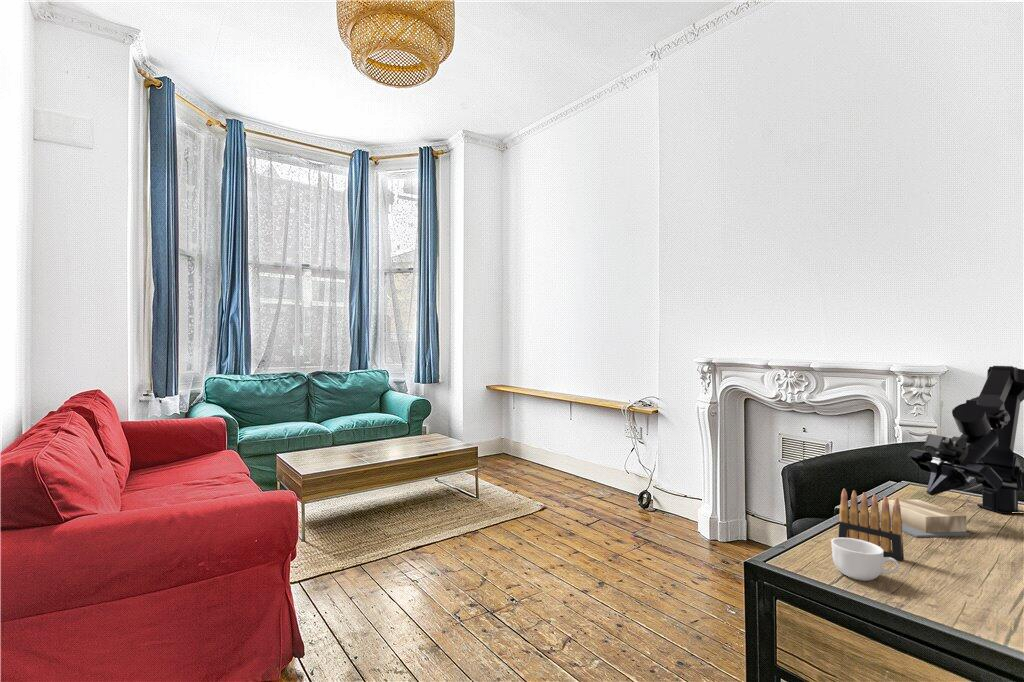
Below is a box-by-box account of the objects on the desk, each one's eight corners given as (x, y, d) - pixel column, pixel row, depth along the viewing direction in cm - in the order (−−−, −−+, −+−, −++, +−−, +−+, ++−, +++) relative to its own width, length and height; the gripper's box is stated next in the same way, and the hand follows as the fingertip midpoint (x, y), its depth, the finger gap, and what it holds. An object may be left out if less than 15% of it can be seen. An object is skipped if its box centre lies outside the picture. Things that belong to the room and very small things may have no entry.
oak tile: (917, 499, 123) (880, 500, 122) (966, 515, 111) (925, 516, 110) (917, 513, 123) (880, 514, 122) (966, 531, 111) (925, 532, 110)
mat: (909, 513, 124) (909, 511, 124) (970, 535, 109) (969, 534, 109) (861, 514, 123) (861, 512, 123) (916, 537, 108) (916, 535, 108)
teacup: (828, 576, 89) (828, 546, 89) (833, 562, 95) (833, 534, 95) (899, 594, 83) (899, 561, 83) (899, 577, 89) (899, 547, 89)
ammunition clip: (837, 545, 103) (837, 488, 103) (840, 543, 104) (840, 486, 104) (902, 562, 95) (902, 500, 95) (903, 559, 96) (903, 498, 97)
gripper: (913, 417, 126) (874, 461, 125) (990, 429, 108) (945, 480, 107) (941, 447, 127) (902, 491, 126) (1023, 465, 109) (978, 516, 107)
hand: (929, 493), depth 116 cm, fingers closed
